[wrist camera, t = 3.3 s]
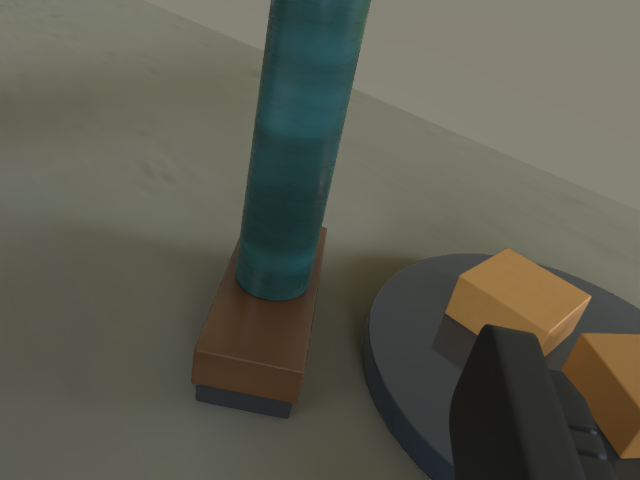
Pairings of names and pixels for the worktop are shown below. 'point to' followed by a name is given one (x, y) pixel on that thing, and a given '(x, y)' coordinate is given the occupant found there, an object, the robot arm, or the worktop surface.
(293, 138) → the peg on stand
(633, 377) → the crust
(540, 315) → the block
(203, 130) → the worktop surface
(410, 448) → the turntable plate
